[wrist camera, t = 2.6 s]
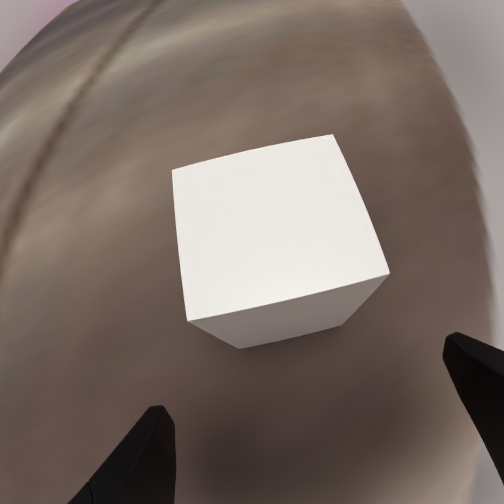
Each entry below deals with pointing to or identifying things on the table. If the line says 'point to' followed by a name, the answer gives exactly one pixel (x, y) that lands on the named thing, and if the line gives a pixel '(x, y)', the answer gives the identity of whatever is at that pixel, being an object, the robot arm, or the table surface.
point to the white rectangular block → (274, 242)
